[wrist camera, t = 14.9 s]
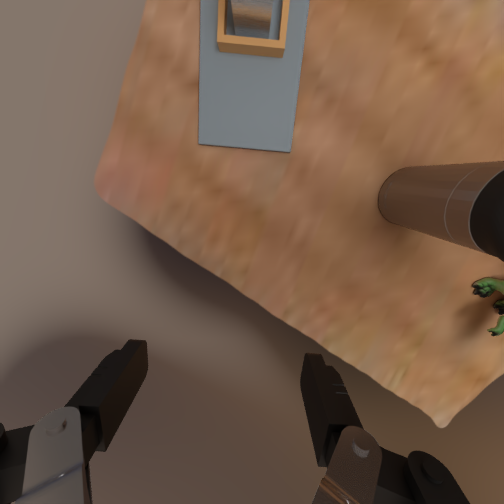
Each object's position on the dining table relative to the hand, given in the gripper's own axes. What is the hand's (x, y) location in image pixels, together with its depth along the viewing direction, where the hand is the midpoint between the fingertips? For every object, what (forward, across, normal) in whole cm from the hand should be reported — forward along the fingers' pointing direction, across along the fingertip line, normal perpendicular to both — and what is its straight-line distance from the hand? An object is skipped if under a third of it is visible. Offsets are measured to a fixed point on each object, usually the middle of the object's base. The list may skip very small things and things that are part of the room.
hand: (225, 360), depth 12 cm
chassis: (+30, +1, -24) cm, 39 cm away
